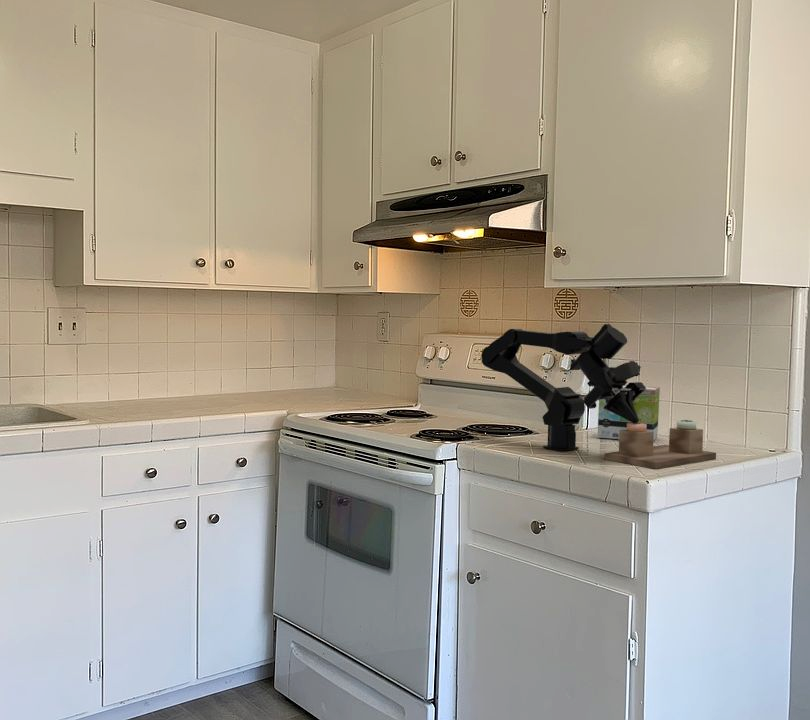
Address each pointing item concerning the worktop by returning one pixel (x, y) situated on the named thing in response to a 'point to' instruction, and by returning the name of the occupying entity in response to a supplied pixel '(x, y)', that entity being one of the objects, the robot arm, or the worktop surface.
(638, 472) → the worktop surface
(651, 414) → the tea box
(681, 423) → the button
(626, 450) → the console
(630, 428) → the button
